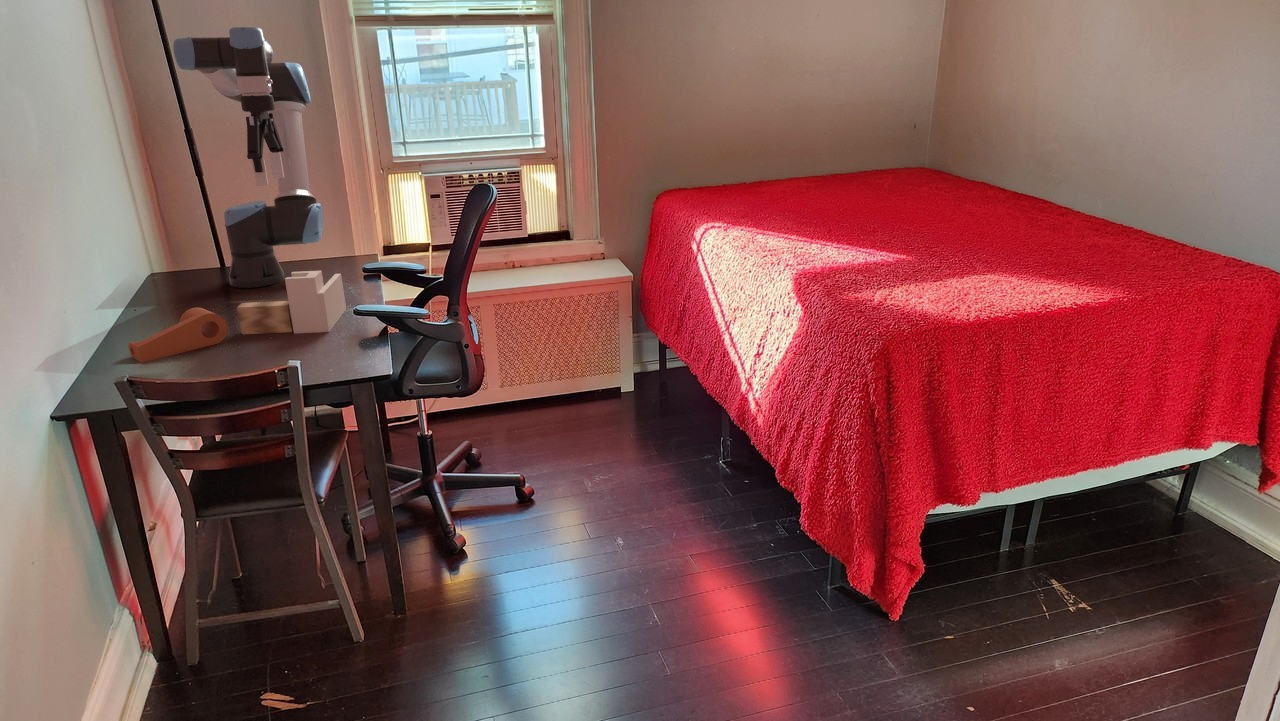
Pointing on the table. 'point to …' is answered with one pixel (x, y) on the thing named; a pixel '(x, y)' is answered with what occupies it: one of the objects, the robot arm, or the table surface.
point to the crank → (182, 336)
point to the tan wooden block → (265, 317)
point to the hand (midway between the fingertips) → (270, 181)
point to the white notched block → (314, 301)
